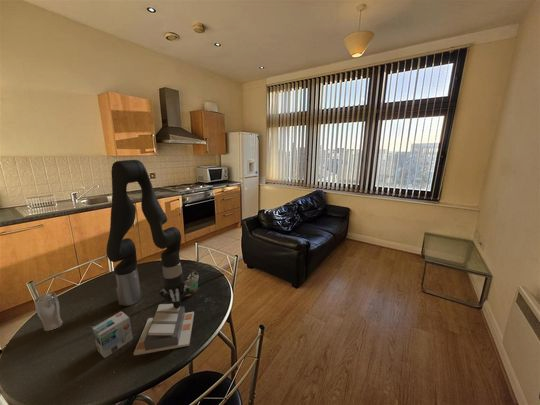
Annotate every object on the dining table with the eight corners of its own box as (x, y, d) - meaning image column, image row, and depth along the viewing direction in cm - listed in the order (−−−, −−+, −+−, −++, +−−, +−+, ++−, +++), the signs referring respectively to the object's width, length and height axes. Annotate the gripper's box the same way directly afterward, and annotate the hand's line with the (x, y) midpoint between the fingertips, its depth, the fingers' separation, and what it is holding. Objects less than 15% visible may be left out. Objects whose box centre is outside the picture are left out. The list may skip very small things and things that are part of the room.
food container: (195, 299, 114) (193, 282, 112) (183, 299, 114) (181, 282, 112) (202, 285, 126) (201, 269, 124) (192, 284, 126) (190, 269, 124)
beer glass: (68, 322, 99) (60, 294, 95) (48, 334, 93) (39, 304, 89) (58, 318, 101) (50, 290, 97) (38, 330, 95) (29, 300, 91)
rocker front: (147, 335, 84) (148, 332, 83) (151, 326, 88) (151, 323, 87) (173, 335, 86) (173, 332, 86) (175, 326, 90) (175, 324, 90)
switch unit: (133, 355, 83) (131, 343, 82) (148, 320, 100) (146, 309, 99) (189, 345, 88) (187, 333, 86) (194, 313, 105) (193, 303, 103)
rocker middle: (152, 323, 89) (152, 320, 89) (155, 315, 93) (155, 312, 93) (175, 323, 92) (176, 321, 91) (177, 316, 96) (178, 313, 95)
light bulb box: (104, 359, 82) (98, 335, 79) (96, 350, 86) (91, 327, 83) (134, 338, 91) (129, 316, 88) (125, 331, 94) (121, 310, 92)
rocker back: (156, 313, 95) (156, 311, 95) (159, 306, 99) (159, 304, 99) (178, 312, 97) (178, 310, 97) (180, 305, 101) (180, 303, 101)
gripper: (153, 280, 90) (159, 315, 94) (187, 275, 92) (191, 310, 96) (158, 270, 97) (163, 303, 101) (189, 266, 99) (193, 299, 104)
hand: (177, 307), depth 99 cm, fingers closed
